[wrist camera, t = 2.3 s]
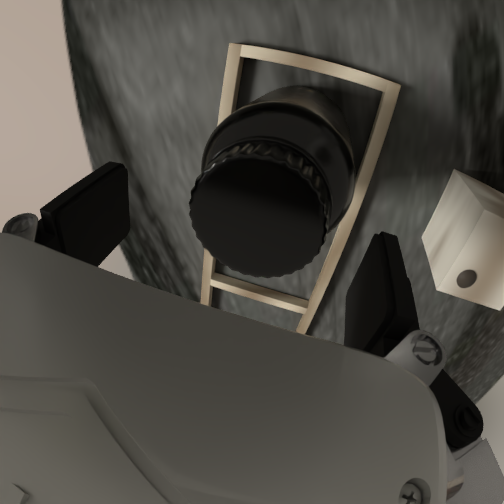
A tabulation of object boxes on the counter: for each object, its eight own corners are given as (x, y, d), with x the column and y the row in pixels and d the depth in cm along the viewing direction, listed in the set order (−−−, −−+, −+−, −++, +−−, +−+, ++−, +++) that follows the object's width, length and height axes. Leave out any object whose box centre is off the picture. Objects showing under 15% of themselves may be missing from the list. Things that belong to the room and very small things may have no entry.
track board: (398, 83, 16) (401, 85, 15) (288, 362, 35) (287, 369, 34) (234, 43, 17) (229, 43, 16) (201, 335, 36) (198, 341, 35)
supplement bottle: (330, 193, 21) (313, 323, 12) (239, 162, 22) (156, 265, 13) (365, 104, 17) (394, 169, 8) (262, 71, 18) (169, 98, 8)
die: (512, 198, 17) (548, 244, 12) (478, 260, 21) (500, 312, 16) (453, 168, 18) (485, 210, 13) (420, 238, 21) (436, 292, 17)
